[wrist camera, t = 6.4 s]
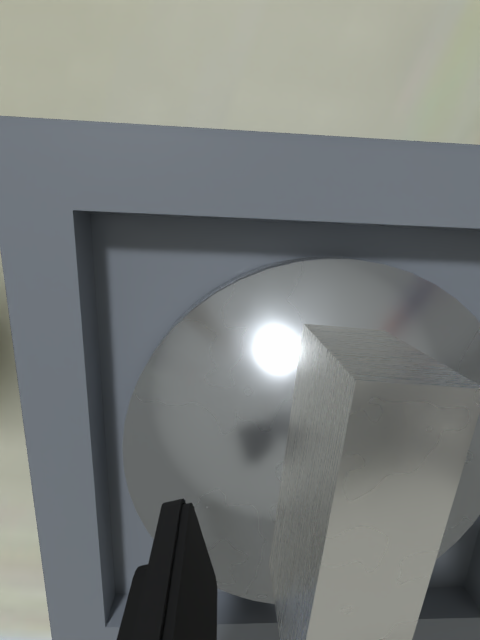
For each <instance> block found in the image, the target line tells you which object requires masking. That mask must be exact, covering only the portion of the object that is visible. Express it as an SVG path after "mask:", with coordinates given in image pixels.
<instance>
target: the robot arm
mask: <svg viewBox="0 0 480 640" xmlns="http://www.w3.org/2000/svg"><path fill="white" fill-rule="evenodd" d="M117 640H217V581H216V576H215V572H214V569H213V566H212V563H211V560H210V557H209V553H208V550H207V547H206V544H205V541H204V538H203V534H202V531H201V528H200V525H199V522H198V519H197V516H196V512H195V509H194V506H193V504H192V503H187V504H186V501H185V500H184V499H178V500H174V501H169V502H165V503H163V504H162V506H161V510H160V515H159V519H158V523H157V528H156V532H155V536H154V541H153V545H152V550H151V554H150V558H149V563H148V564H146V565H142V566H139V567H138V568H137V569H136V571H135V573H134V576H133V579H132V583H131V587H130V591H129V594H128V598H127V602H126V606H125V609H124V613H123V617H122V621H121V625H120V628H119V632H118V636H117Z"/></svg>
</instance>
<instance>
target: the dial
mask: <svg viewBox="0 0 480 640" xmlns="http://www.w3.org/2000/svg"><path fill="white" fill-rule="evenodd" d="M122 449H123V465H124V473H125V477H126V482H127V486H128V491H129V494H130V496H131V499H132V502H133V504H134V507H135V509H136V512H137V514H138V515H139V517H140V519H141V521H142V522H143V524H144V526H145V528H146V530H147V531H148V532H149V534H150V535H151V536H152V538H153V539H154V536H155V532H156V528H157V523H158V519H159V515H160V510H161V506H162V504H163V503H165V502H169V501H174V500H178V499H184V500H185V501H186V504H187V503H192V504H193V506H194V509H195V512H196V516H197V519H198V522H199V525H200V528H201V531H202V534H203V538H204V541H205V544H206V547H207V550H208V553H209V557H210V560H211V563H212V566H213V569H214V572H215V576H216V581H217V589H220V590H222V591H225V592H227V593H229V594H232V595H236V596H239V597H242V598H246V599H249V600H253V601H259V602H265V603H270V604H275V610H276V617H277V624H278V631H279V638H280V640H412V639H413V635H414V632H415V629H416V625H417V622H418V618H419V615H420V612H421V608H422V605H423V602H424V598H425V595H426V592H427V588H428V585H429V581H430V578H431V575H432V571H433V568H434V565H435V561H436V559H437V558H439V557H440V556H441V555H442V554H444V553H445V552H446V551H447V550H448V549H449V548H450V547H451V546H453V545H454V544H455V543H456V542H457V541H458V540H459V539H460V538H461V537H462V536H463V535H464V533H465V532H466V531H467V530H468V529H469V528H470V527H471V526H472V525H473V523H474V522H475V520H476V519H477V518H478V516H479V515H480V323H479V321H478V320H477V319H476V317H475V316H474V315H473V314H472V313H471V312H470V311H469V310H468V309H466V308H465V307H464V306H463V305H462V304H461V303H460V302H459V301H458V300H457V299H456V298H454V297H453V296H451V295H450V294H448V293H447V292H445V291H444V290H443V289H441V288H440V287H438V286H437V285H435V284H433V283H431V282H429V281H427V280H425V279H423V278H421V277H419V276H417V275H415V274H413V273H410V272H407V271H404V270H401V269H398V268H394V267H391V266H388V265H385V264H379V263H374V262H368V261H362V260H356V259H350V258H344V257H306V258H297V259H289V260H285V261H281V262H276V263H272V264H268V265H264V266H261V267H259V268H256V269H254V270H251V271H248V272H246V273H243V274H241V275H238V276H236V277H235V278H233V279H231V280H229V281H227V282H225V283H224V284H222V285H220V286H218V287H216V288H215V289H213V290H212V291H211V292H209V293H208V294H206V295H205V296H204V297H202V298H201V299H200V300H198V301H197V302H196V303H194V304H193V305H192V306H191V307H190V308H189V309H188V310H187V311H186V312H185V313H184V314H183V315H182V316H181V317H180V318H179V319H178V320H177V321H176V322H175V323H174V324H173V325H172V327H171V328H170V329H169V331H168V332H167V333H166V334H165V336H164V337H163V338H162V339H161V341H160V342H159V344H158V346H157V347H156V349H155V351H154V352H153V354H152V356H151V358H150V359H149V361H148V363H147V364H146V366H145V368H144V369H143V371H142V373H141V375H140V377H139V379H138V381H137V384H136V386H135V389H134V391H133V394H132V396H131V399H130V402H129V406H128V411H127V415H126V419H125V423H124V434H123V445H122Z"/></svg>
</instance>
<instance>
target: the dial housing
mask: <svg viewBox="0 0 480 640" xmlns="http://www.w3.org/2000/svg"><path fill="white" fill-rule="evenodd" d="M0 250H1V257H2V265H3V272H4V280H5V287H6V295H7V303H8V310H9V318H10V325H11V333H12V340H13V348H14V355H15V363H16V370H17V378H18V386H19V393H20V401H21V408H22V416H23V423H24V431H25V438H26V446H27V454H28V461H29V469H30V476H31V484H32V491H33V499H34V506H35V514H36V521H37V529H38V537H39V544H40V552H41V559H42V567H43V574H44V582H45V589H46V597H47V604H48V612H49V620H50V627H51V635H52V640H117V636H118V632H119V628H120V625H121V621H122V617H123V613H124V609H125V606H126V602H127V598H128V594H129V591H130V587H131V583H132V579H133V576H134V573H135V571H136V569H137V568H138V567H139V566H142V565H146V564H148V563H149V558H150V554H151V550H152V545H153V541H154V539H153V538H152V536H151V535H150V534H149V532H148V531H147V530H146V528H145V526H144V524H143V522H142V521H141V519H140V517H139V515H138V514H137V512H136V509H135V507H134V504H133V502H132V499H131V496H130V494H129V491H128V486H127V482H126V477H125V473H124V465H123V449H122V445H123V434H124V423H125V419H126V415H127V411H128V406H129V402H130V399H131V396H132V394H133V391H134V389H135V386H136V384H137V381H138V379H139V377H140V375H141V373H142V371H143V369H144V368H145V366H146V364H147V363H148V361H149V359H150V358H151V356H152V354H153V352H154V351H155V349H156V347H157V346H158V344H159V342H160V341H161V339H162V338H163V337H164V336H165V334H166V333H167V332H168V331H169V329H170V328H171V327H172V325H173V324H174V323H175V322H176V321H177V320H178V319H179V318H180V317H181V316H182V315H183V314H184V313H185V312H186V311H187V310H188V309H189V308H190V307H191V306H192V305H193V304H194V303H196V302H197V301H198V300H200V299H201V298H202V297H204V296H205V295H206V294H208V293H209V292H211V291H212V290H213V289H215V288H216V287H218V286H220V285H222V284H224V283H225V282H227V281H229V280H231V279H233V278H235V277H236V276H238V275H241V274H243V273H246V272H248V271H251V270H254V269H256V268H259V267H261V266H264V265H268V264H272V263H276V262H281V261H285V260H289V259H297V258H306V257H344V258H350V259H356V260H362V261H368V262H374V263H379V264H385V265H388V266H391V267H394V268H398V269H401V270H404V271H407V272H410V273H413V274H415V275H417V276H419V277H421V278H423V279H425V280H427V281H429V282H431V283H433V284H435V285H437V286H438V287H440V288H441V289H443V290H444V291H445V292H447V293H448V294H450V295H451V296H453V297H454V298H456V299H457V300H458V301H459V302H460V303H461V304H462V305H463V306H464V307H465V308H466V309H468V310H469V311H470V312H471V313H472V314H473V315H474V316H475V317H476V319H477V320H478V321H479V323H480V145H472V144H455V143H439V142H423V141H406V140H390V139H373V138H357V137H340V136H324V135H308V134H291V133H275V132H258V131H242V130H225V129H209V128H192V127H176V126H160V125H143V124H127V123H110V122H94V121H77V120H61V119H44V118H28V117H12V116H0ZM217 640H280V638H279V631H278V624H277V617H276V610H275V604H270V603H265V602H259V601H253V600H249V599H246V598H242V597H239V596H236V595H232V594H229V593H227V592H225V591H222V590H220V589H217ZM412 640H480V515H479V516H478V518H477V519H476V520H475V522H474V523H473V525H472V526H471V527H470V528H469V529H468V530H467V531H466V532H465V533H464V535H463V536H462V537H461V538H460V539H459V540H458V541H457V542H456V543H455V544H454V545H453V546H451V547H450V548H449V549H448V550H447V551H446V552H445V553H444V554H442V555H441V556H440V557H439V558H437V559H436V561H435V565H434V568H433V571H432V575H431V578H430V581H429V585H428V588H427V592H426V595H425V598H424V602H423V605H422V608H421V612H420V615H419V618H418V622H417V625H416V629H415V632H414V635H413V639H412Z"/></svg>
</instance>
